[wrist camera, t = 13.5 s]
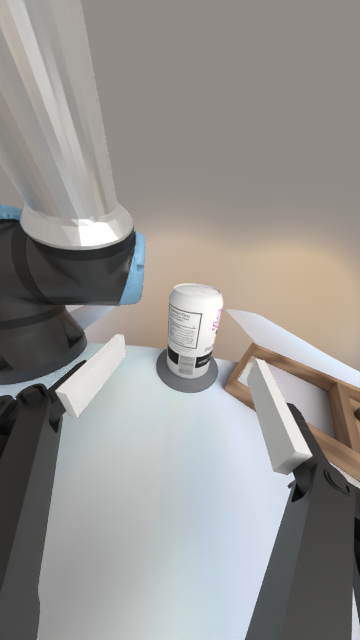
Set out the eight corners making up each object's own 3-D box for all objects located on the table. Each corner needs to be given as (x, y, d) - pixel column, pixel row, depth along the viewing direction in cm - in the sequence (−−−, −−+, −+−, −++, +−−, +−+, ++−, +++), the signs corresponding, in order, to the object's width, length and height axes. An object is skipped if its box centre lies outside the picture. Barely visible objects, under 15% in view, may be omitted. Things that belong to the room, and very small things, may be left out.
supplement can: (164, 351, 30) (166, 282, 23) (200, 349, 32) (212, 283, 25) (169, 384, 23) (174, 298, 16) (215, 378, 25) (237, 298, 18)
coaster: (143, 364, 27) (143, 363, 26) (182, 339, 35) (183, 338, 35) (194, 408, 20) (194, 406, 20) (227, 364, 28) (227, 363, 28)
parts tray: (224, 390, 23) (227, 379, 22) (248, 351, 33) (252, 342, 32) (533, 598, 10) (584, 600, 9) (421, 430, 20) (438, 421, 18)
